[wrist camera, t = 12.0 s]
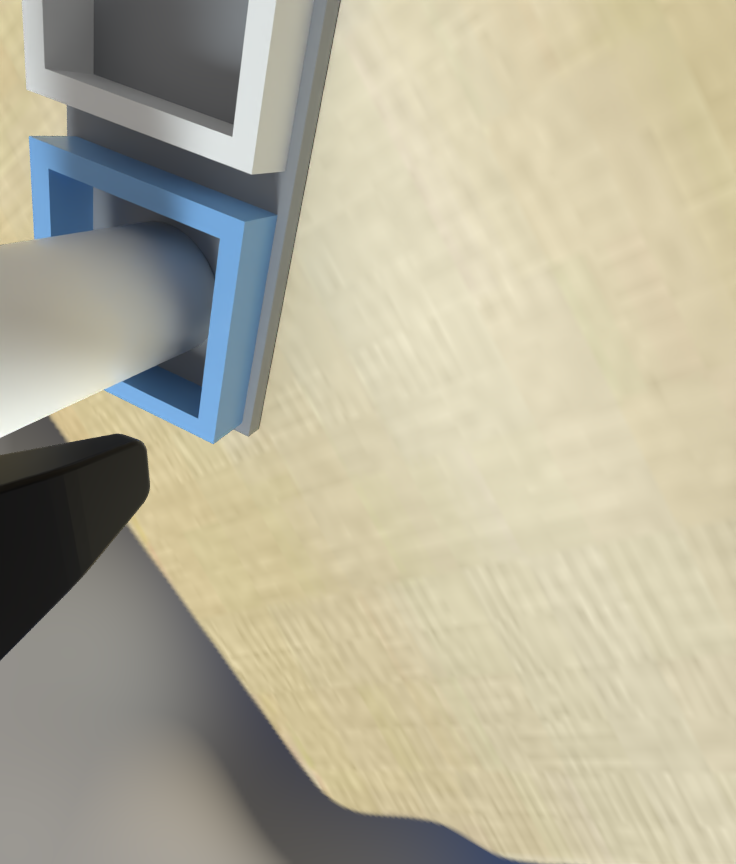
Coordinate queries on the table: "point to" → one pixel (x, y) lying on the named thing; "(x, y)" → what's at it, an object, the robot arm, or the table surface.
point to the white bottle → (95, 313)
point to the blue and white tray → (187, 163)
